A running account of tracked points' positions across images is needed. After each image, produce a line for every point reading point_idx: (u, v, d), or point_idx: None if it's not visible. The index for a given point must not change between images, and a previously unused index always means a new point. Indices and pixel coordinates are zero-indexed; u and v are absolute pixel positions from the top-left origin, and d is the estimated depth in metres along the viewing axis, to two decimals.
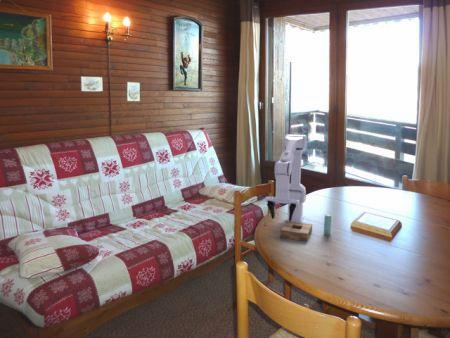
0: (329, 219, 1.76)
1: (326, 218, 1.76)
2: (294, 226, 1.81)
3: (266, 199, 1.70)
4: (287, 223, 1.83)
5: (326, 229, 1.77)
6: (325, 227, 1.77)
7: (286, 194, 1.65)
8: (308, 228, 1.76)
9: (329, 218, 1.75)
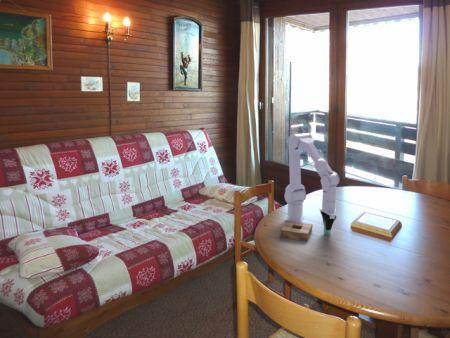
0: None
1: None
2: (294, 226, 1.81)
3: None
4: (287, 223, 1.83)
5: None
6: (325, 227, 1.77)
7: (326, 204, 1.73)
8: (308, 228, 1.76)
9: None
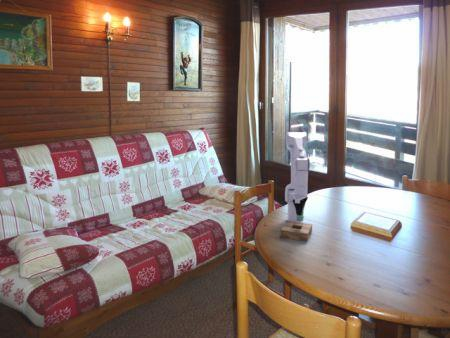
0: None
1: None
2: (294, 226, 1.81)
3: None
4: (287, 223, 1.83)
5: None
6: None
7: (295, 189, 1.72)
8: (308, 228, 1.76)
9: None
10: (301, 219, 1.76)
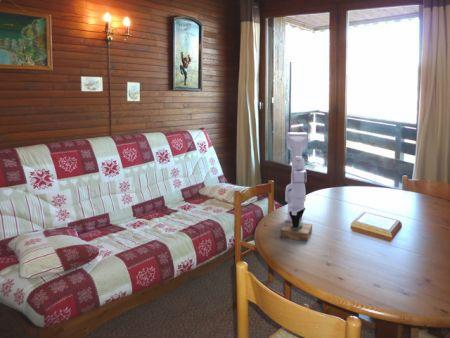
0: None
1: None
2: None
3: None
4: (287, 223, 1.83)
5: None
6: (294, 227, 1.78)
7: (292, 201, 1.74)
8: (308, 228, 1.76)
9: None
10: None
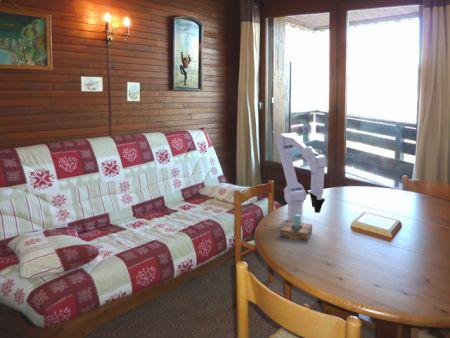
0: (297, 219, 1.76)
1: (294, 218, 1.76)
2: None
3: None
4: (287, 223, 1.83)
5: None
6: (294, 227, 1.78)
7: (314, 186, 1.77)
8: (308, 228, 1.76)
9: (297, 218, 1.76)
10: None
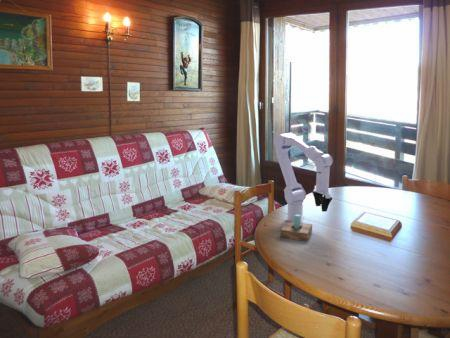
0: (297, 219, 1.76)
1: (294, 218, 1.76)
2: None
3: (314, 187, 1.88)
4: (287, 223, 1.83)
5: None
6: (294, 227, 1.78)
7: (320, 185, 1.78)
8: (308, 228, 1.76)
9: (297, 218, 1.76)
10: None
